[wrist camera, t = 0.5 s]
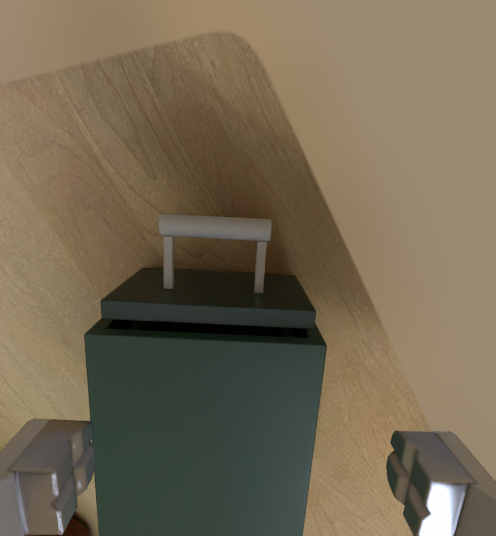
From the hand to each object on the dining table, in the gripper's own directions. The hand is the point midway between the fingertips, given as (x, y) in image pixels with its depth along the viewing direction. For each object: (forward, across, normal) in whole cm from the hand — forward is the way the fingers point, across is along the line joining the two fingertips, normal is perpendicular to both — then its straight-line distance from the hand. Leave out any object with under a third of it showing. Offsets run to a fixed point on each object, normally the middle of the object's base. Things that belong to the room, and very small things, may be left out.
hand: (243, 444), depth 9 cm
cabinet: (+19, +2, +10) cm, 21 cm away
